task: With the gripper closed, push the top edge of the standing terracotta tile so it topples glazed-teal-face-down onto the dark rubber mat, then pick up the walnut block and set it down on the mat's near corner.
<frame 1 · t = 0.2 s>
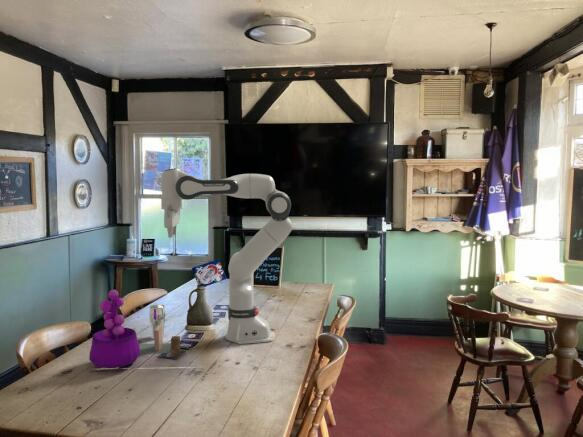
hand: (172, 236, 215), 47 cm above the table, fingers open, 8 cm apart
mat: (150, 349, 205), on the table
tile: (159, 348, 205), point 1 cm above the table, touching mat
walnut block: (175, 356, 198), on the table
beer glass: (157, 339, 219), on the table
decorative plant: (115, 365, 189), on the table
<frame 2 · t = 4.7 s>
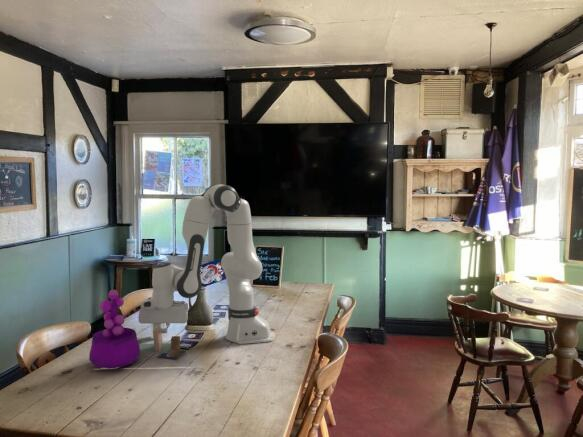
hand: (163, 333, 205), 7 cm above the table, fingers closed
tile: (159, 348, 205), point 1 cm above the table, touching gripper, mat
everything else where it was.
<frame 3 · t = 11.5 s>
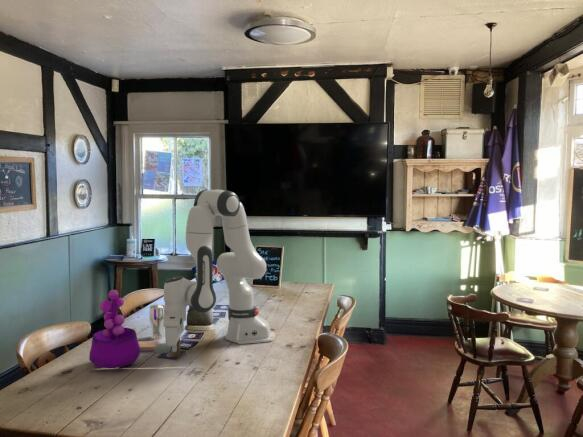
hand: (175, 349, 198), 3 cm above the table, fingers closed on walnut block, 3 cm apart
tile: (156, 345, 205), point 2 cm above the table, tilted 90°, touching mat
walnut block: (175, 356, 198), on the table, touching gripper
everything else where it was.
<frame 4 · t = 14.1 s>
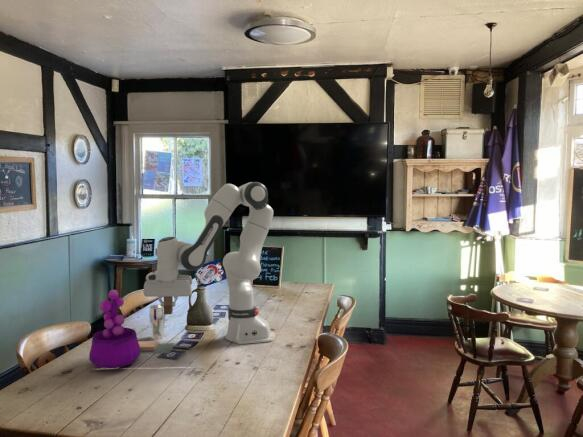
hand: (168, 306, 208), 18 cm above the table, fingers closed on walnut block, 3 cm apart
walnut block: (168, 313, 208), point 15 cm above the table, touching gripper
everything else where it was.
when the fingers open (5 cm above the table, at t = 17.0 s): walnut block stays where it is, resting on mat.
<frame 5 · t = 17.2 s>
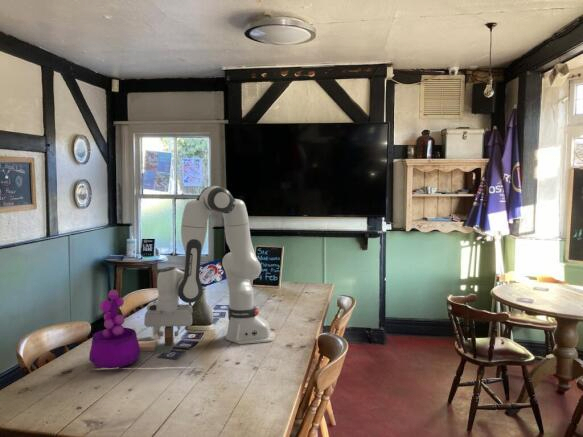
hand: (168, 335, 209), 5 cm above the table, fingers open, 5 cm apart
walnut block: (169, 344, 209), point 1 cm above the table, touching mat
everything else where it was.
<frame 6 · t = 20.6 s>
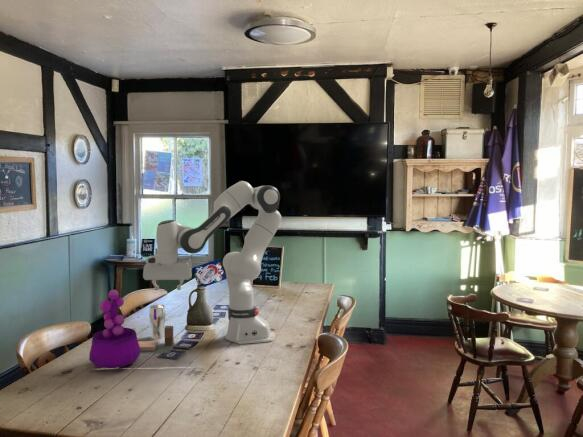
hand: (167, 289, 207), 25 cm above the table, fingers open, 8 cm apart
nothing on the table moved.
at the end: tile tilted 90°; tile inside the target area (3.9 cm from its centre), point 1.7 cm above the table; walnut block inside the target area (0.7 cm from its centre), point 0.6 cm above the table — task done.
